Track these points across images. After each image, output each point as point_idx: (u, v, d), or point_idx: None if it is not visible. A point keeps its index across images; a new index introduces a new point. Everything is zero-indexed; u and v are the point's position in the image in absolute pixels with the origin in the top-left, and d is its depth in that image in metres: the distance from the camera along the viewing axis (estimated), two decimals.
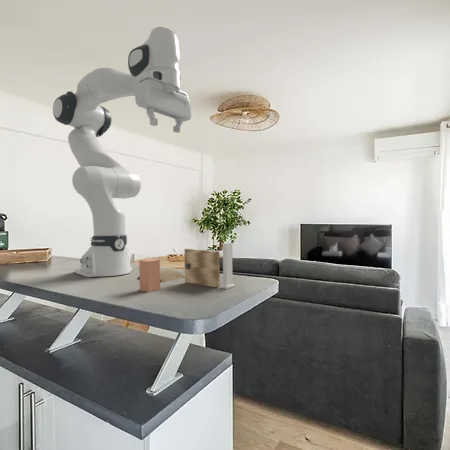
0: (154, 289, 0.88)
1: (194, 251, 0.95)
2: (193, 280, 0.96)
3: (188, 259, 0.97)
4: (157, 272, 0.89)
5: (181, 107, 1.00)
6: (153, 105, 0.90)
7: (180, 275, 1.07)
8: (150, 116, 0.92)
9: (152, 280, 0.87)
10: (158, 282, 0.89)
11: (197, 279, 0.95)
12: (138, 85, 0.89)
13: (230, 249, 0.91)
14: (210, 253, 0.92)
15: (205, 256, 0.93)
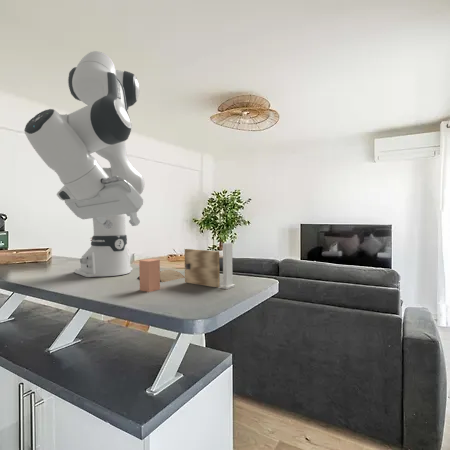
0: (154, 289, 0.88)
1: (194, 251, 0.95)
2: (193, 280, 0.96)
3: (188, 259, 0.97)
4: (157, 272, 0.89)
5: (116, 205, 0.71)
6: (89, 217, 0.78)
7: (180, 275, 1.07)
8: None
9: (152, 280, 0.87)
10: (158, 282, 0.89)
11: (197, 279, 0.95)
12: None
13: (230, 249, 0.91)
14: (210, 253, 0.92)
15: (205, 256, 0.93)
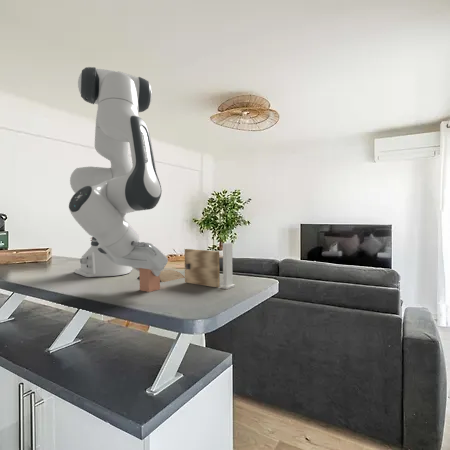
0: (154, 289, 0.88)
1: (194, 251, 0.95)
2: (193, 280, 0.96)
3: (188, 259, 0.97)
4: None
5: (144, 263, 0.81)
6: (123, 265, 0.89)
7: (180, 275, 1.07)
8: None
9: (152, 280, 0.87)
10: (158, 282, 0.89)
11: (197, 279, 0.95)
12: None
13: (230, 249, 0.91)
14: (210, 253, 0.92)
15: (205, 256, 0.93)
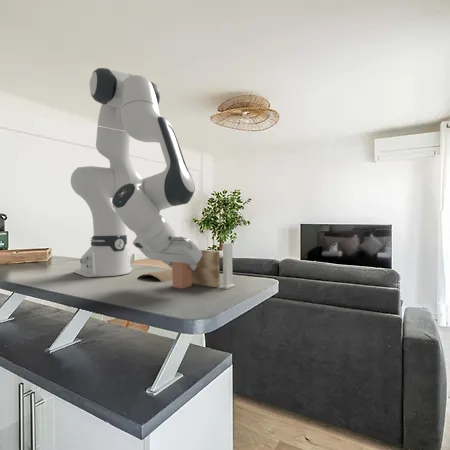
0: (186, 285, 0.92)
1: None
2: (193, 280, 0.96)
3: None
4: (189, 269, 0.93)
5: (180, 257, 0.85)
6: (157, 259, 0.93)
7: None
8: None
9: (185, 277, 0.91)
10: (190, 279, 0.93)
11: (197, 279, 0.95)
12: None
13: (230, 249, 0.91)
14: (210, 253, 0.92)
15: (205, 256, 0.93)
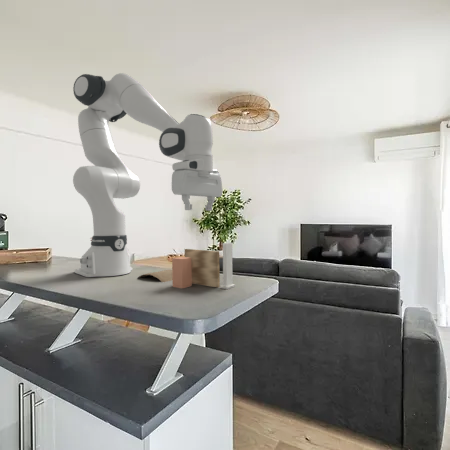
0: (186, 285, 0.92)
1: (194, 251, 0.95)
2: (193, 280, 0.96)
3: None
4: (189, 269, 0.93)
5: (214, 187, 1.02)
6: (188, 193, 0.94)
7: None
8: (185, 202, 0.95)
9: (185, 277, 0.91)
10: (190, 279, 0.93)
11: (197, 279, 0.95)
12: (174, 175, 0.92)
13: (230, 249, 0.91)
14: (210, 253, 0.92)
15: (205, 256, 0.93)
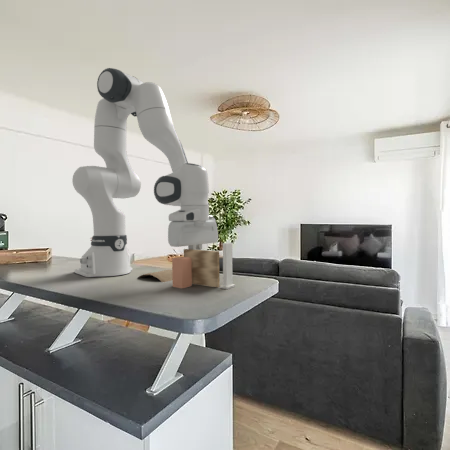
0: (186, 285, 0.92)
1: (193, 251, 0.95)
2: (192, 280, 0.96)
3: None
4: (189, 269, 0.93)
5: (210, 234, 1.02)
6: (185, 244, 0.92)
7: None
8: None
9: (185, 277, 0.91)
10: (190, 279, 0.93)
11: (196, 279, 0.95)
12: (171, 227, 0.91)
13: (230, 249, 0.91)
14: (210, 253, 0.91)
15: (205, 256, 0.93)
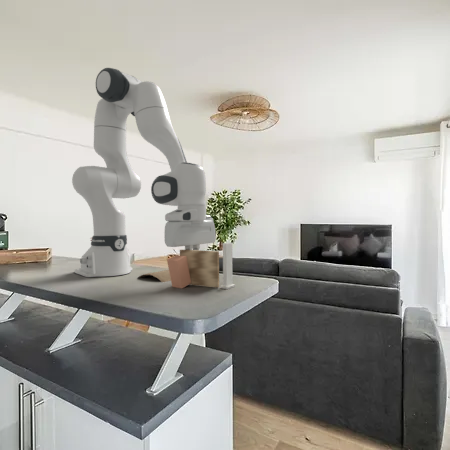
0: (186, 284, 0.92)
1: (191, 252, 0.94)
2: None
3: None
4: (186, 268, 0.92)
5: (207, 234, 1.01)
6: (182, 245, 0.91)
7: None
8: None
9: (183, 277, 0.91)
10: (188, 277, 0.93)
11: (194, 280, 0.94)
12: (167, 227, 0.90)
13: (230, 249, 0.91)
14: (209, 253, 0.91)
15: (204, 256, 0.92)
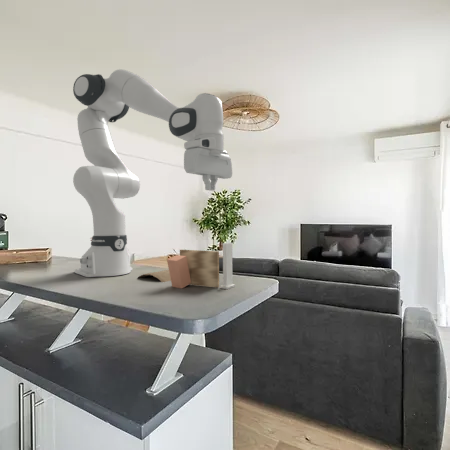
0: (186, 284, 0.92)
1: (191, 252, 0.94)
2: None
3: None
4: (186, 268, 0.92)
5: (224, 167, 1.02)
6: (201, 171, 0.93)
7: None
8: (206, 182, 0.98)
9: (183, 277, 0.91)
10: (188, 277, 0.93)
11: (194, 280, 0.94)
12: (187, 153, 0.92)
13: (230, 249, 0.91)
14: (209, 253, 0.91)
15: (204, 256, 0.92)
